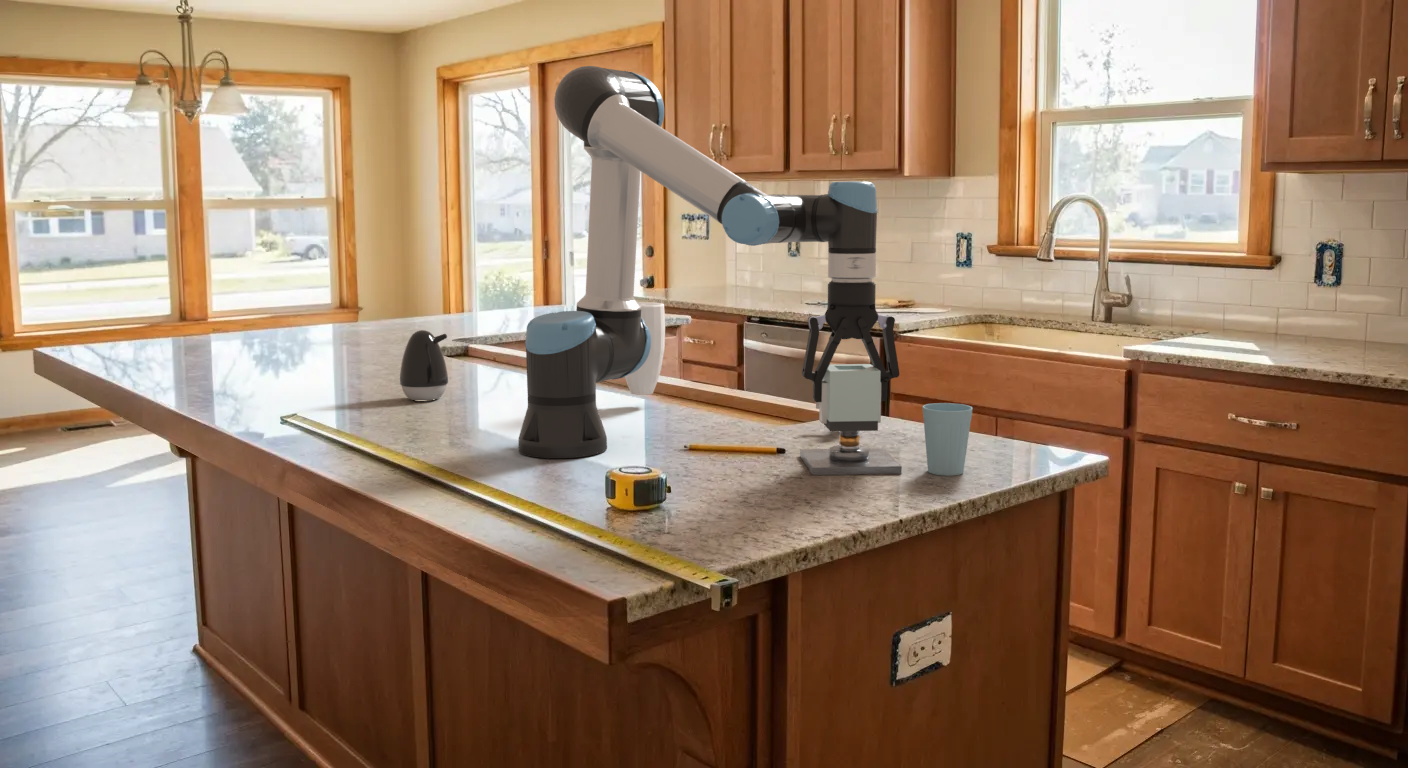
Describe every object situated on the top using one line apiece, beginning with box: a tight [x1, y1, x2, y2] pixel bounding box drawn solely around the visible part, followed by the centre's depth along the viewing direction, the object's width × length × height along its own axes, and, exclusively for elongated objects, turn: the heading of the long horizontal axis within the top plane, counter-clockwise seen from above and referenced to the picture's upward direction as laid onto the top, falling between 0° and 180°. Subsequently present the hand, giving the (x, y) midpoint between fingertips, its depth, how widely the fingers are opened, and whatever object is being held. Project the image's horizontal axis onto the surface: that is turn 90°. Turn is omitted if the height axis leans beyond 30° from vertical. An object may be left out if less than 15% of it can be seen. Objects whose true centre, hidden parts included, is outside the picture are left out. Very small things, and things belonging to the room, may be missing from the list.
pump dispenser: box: [399, 329, 449, 401], centre depth 255 cm, size 10×10×15 cm
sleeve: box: [822, 363, 881, 422], centre depth 189 cm, size 8×8×8 cm
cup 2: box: [624, 301, 666, 396], centre depth 245 cm, size 10×10×22 cm
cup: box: [922, 402, 973, 477], centre depth 185 cm, size 8×8×10 cm
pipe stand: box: [799, 431, 903, 476], centre depth 190 cm, size 14×14×14 cm
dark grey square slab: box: [823, 420, 879, 432], centre depth 190 cm, size 8×8×2 cm
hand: (849, 421), depth 190 cm, fingers closed on sleeve, 8 cm apart
